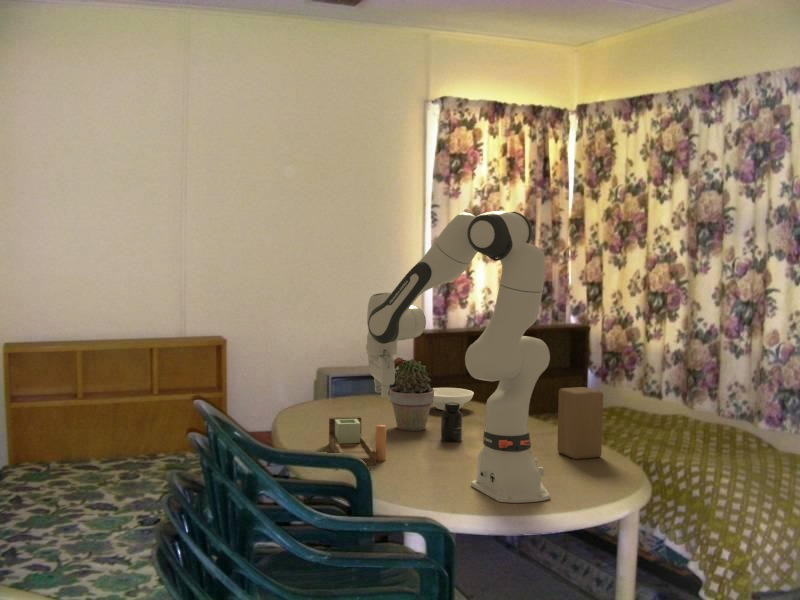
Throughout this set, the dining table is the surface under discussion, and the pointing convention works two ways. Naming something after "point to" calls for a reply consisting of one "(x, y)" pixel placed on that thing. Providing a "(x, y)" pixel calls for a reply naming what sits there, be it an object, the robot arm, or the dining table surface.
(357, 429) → the socket block
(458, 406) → the supplement bottle
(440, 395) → the bowl
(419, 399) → the potted plant
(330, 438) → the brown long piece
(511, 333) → the robot arm
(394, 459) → the dining table surface
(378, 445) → the dowel
